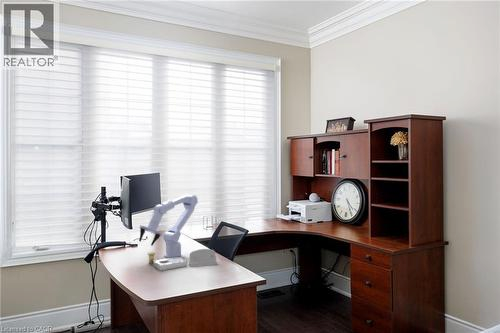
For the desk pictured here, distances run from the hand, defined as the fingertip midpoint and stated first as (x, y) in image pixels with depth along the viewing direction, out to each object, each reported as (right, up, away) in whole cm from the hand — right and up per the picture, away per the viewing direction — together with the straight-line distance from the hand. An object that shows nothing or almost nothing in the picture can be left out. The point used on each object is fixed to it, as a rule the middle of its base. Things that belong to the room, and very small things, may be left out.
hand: (145, 243), depth 224 cm
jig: (+17, -12, -7) cm, 22 cm away
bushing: (+4, -12, 0) cm, 13 cm away
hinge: (+35, -12, -3) cm, 38 cm away
